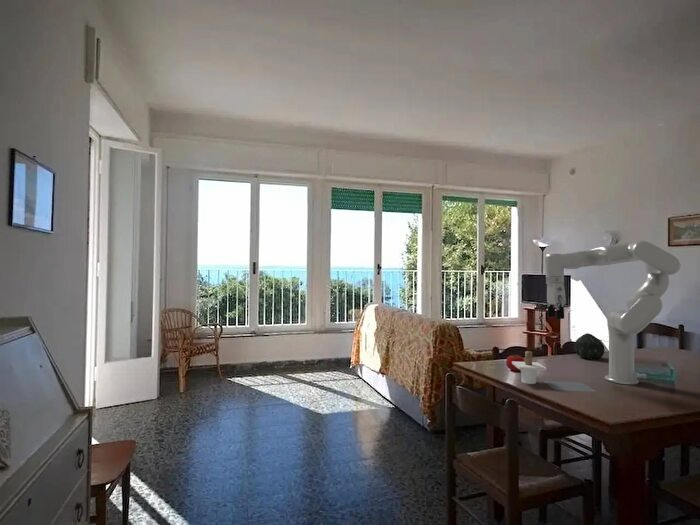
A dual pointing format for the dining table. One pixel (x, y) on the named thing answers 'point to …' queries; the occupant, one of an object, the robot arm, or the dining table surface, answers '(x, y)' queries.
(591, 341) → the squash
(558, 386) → the mat
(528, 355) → the lid
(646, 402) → the dining table surface
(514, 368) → the tomato
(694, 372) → the dining table surface
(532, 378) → the white cylinder
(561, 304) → the robot arm
